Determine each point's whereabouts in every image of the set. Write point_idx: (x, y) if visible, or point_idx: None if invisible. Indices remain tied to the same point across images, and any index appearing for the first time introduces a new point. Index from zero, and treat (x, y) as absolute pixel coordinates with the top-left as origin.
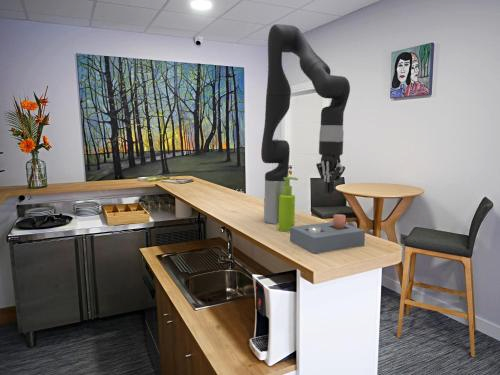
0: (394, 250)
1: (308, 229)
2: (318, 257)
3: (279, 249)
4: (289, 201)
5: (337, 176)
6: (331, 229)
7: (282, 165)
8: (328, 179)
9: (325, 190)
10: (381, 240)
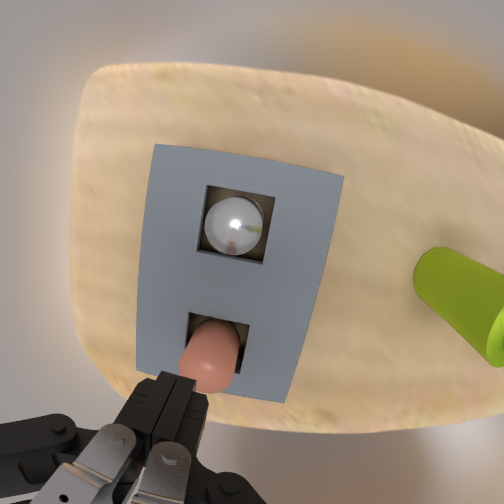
0: (94, 361)
1: (252, 204)
2: (144, 139)
3: (279, 83)
4: (483, 308)
5: (46, 470)
6: (205, 295)
7: None
8: (106, 443)
9: (186, 387)
10: None
